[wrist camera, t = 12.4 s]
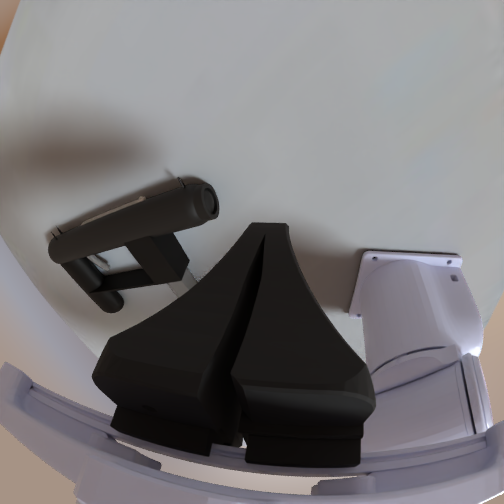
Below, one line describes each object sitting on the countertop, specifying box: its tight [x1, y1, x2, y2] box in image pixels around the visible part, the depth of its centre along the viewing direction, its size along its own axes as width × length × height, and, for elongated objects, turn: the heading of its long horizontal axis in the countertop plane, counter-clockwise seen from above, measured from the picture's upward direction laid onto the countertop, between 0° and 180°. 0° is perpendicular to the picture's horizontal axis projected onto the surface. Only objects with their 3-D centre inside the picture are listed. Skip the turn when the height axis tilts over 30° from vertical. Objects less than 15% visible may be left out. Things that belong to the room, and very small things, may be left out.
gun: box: [48, 177, 219, 313], centre depth 26 cm, size 3×20×16 cm
